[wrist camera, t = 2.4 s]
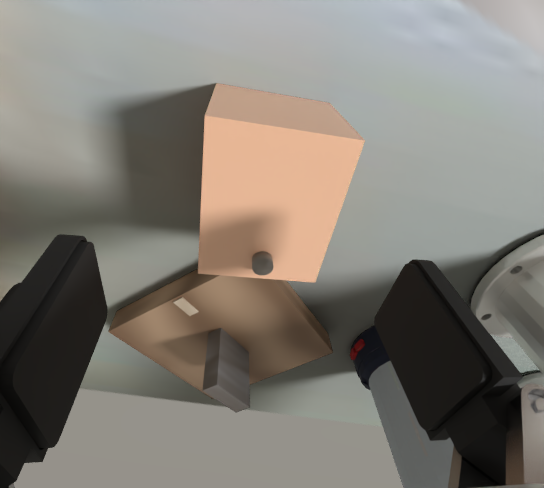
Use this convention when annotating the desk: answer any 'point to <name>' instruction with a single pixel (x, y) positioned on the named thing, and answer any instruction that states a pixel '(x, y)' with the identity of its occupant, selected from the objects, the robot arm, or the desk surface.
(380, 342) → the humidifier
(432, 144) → the desk surface
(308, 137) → the light orange block
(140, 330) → the stand
